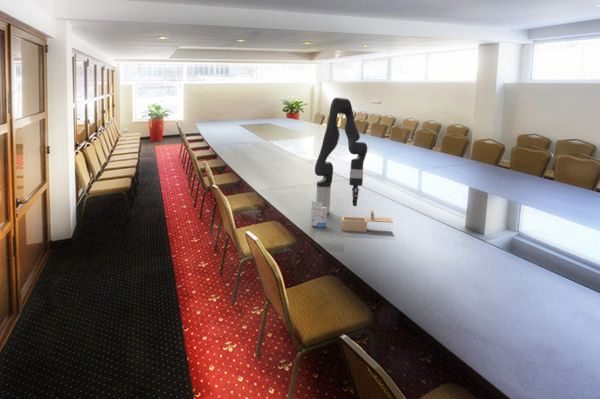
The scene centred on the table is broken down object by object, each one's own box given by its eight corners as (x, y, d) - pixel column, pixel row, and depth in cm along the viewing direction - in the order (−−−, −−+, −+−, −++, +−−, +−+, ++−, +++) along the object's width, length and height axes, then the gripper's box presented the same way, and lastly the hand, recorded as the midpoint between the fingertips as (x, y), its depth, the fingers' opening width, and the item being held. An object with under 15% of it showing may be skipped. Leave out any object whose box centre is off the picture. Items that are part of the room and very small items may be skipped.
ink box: (326, 226, 240) (327, 202, 238) (321, 227, 236) (322, 203, 234) (315, 224, 245) (316, 200, 243) (310, 225, 242) (311, 201, 239)
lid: (365, 217, 240) (366, 209, 240) (390, 218, 239) (390, 211, 238) (367, 221, 229) (367, 213, 228) (392, 222, 228) (393, 214, 227)
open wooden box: (341, 226, 242) (342, 216, 241) (365, 227, 241) (366, 217, 240) (342, 230, 232) (342, 220, 231) (366, 231, 230) (367, 221, 229)
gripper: (363, 178, 224) (361, 207, 227) (362, 176, 238) (360, 203, 241) (349, 177, 225) (348, 206, 227) (349, 175, 239) (347, 202, 241)
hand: (354, 204), depth 234 cm, fingers open, 8 cm apart
